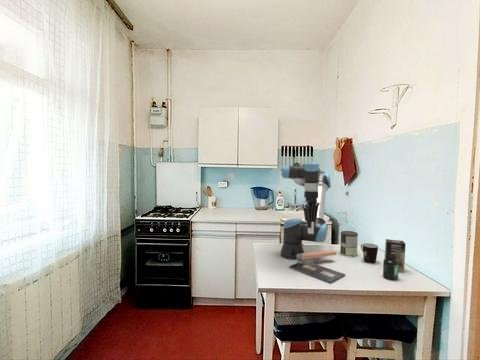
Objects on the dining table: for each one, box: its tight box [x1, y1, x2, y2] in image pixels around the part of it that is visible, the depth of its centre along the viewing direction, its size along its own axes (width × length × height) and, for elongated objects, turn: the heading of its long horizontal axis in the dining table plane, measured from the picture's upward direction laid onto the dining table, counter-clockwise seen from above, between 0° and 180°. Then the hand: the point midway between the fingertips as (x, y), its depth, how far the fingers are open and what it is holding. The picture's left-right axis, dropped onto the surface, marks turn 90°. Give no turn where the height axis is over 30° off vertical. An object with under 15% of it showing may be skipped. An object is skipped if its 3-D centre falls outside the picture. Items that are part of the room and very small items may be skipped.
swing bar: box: [296, 248, 337, 261], centre depth 157 cm, size 26×4×3 cm, turn 111°
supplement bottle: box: [382, 254, 399, 281], centre depth 138 cm, size 7×7×12 cm
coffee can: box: [340, 230, 359, 258], centre depth 174 cm, size 10×10×14 cm
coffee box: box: [384, 238, 406, 274], centre depth 148 cm, size 9×6×16 cm
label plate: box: [288, 259, 346, 284], centre depth 145 cm, size 26×14×4 cm, turn 40°
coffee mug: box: [360, 242, 379, 265], centre depth 162 cm, size 12×9×10 cm
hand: (310, 233), depth 147 cm, fingers closed
